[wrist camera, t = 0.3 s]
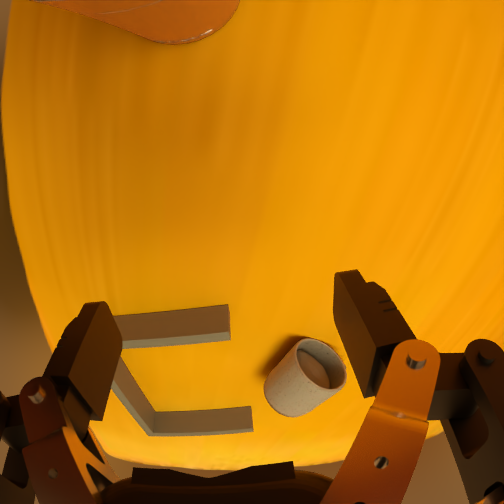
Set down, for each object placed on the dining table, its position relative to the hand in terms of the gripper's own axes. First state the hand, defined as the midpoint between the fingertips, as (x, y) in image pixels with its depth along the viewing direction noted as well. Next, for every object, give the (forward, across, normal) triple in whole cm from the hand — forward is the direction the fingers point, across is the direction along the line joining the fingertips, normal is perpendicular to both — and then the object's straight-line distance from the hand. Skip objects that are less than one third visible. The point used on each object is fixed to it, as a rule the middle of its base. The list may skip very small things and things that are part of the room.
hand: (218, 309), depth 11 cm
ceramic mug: (+19, -7, +25) cm, 32 cm away
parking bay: (+19, +9, +25) cm, 33 cm away
